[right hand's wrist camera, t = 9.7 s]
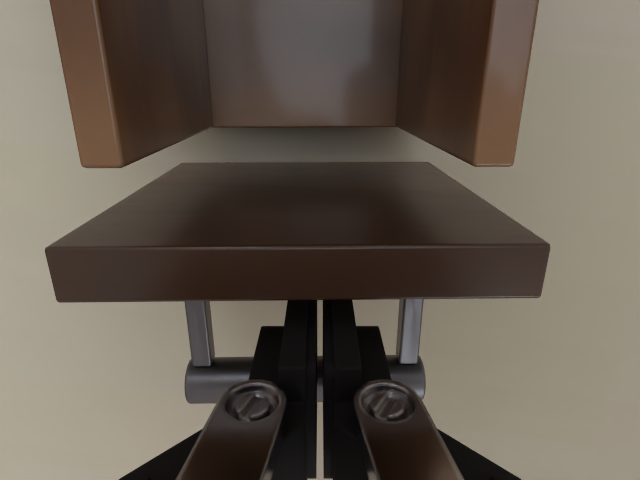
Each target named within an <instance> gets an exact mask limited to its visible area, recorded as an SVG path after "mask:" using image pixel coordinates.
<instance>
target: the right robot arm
mask: <svg viewBox="0 0 640 480" xmlns="http://www.w3.org/2000/svg"><path fill="white" fill-rule="evenodd" d="M316 449H317V300H288V303H287V310H286V317H285V323H284V326H262V327H261V330H260V334H259V338H258V342H257V346H256V351H255V355H254V359H253V363H252V367H251V371H250V375H249V380H247V381H243V382H240V383H237V384H235V385H233V386H231V387H230V388H229V389H227V390H226V391H225V392H224V393H223V394H222V395H221V397H220V398H219V400H218V402H217V404H216V405H215V407H214V409H213V411H212V413H211V415H210V417H209V418H208V420H207V422H206V424H205V426H204V428H203V429H202V430H200V431H198V432H197V433H195V434H193V435H192V436H190V437H188V438H187V439H185V440H183V441H182V442H180V443H178V444H177V445H175V446H173V447H172V448H170V449H168V450H167V451H165V452H163V453H162V454H160V455H158V456H157V457H155V458H153V459H152V460H150V461H149V462H147V463H145V464H144V465H142V466H140V467H139V468H137V469H135V470H134V471H132V472H130V473H129V474H127V475H125V476H124V477H122V478H120V479H119V480H307V478H316ZM323 449H324V478H333V480H521V479H520V478H518V477H516V476H515V475H513V474H511V473H510V472H508V471H506V470H505V469H503V468H501V467H500V466H498V465H496V464H495V463H493V462H491V461H490V460H488V459H487V458H485V457H483V456H482V455H480V454H478V453H477V452H475V451H473V450H472V449H470V448H468V447H467V446H465V445H463V444H462V443H460V442H458V441H457V440H455V439H453V438H452V437H450V436H448V435H447V434H445V433H443V432H442V431H440V430H438V429H437V428H436V426H435V424H434V422H433V420H432V418H431V417H430V415H429V413H428V411H427V409H426V407H425V405H424V404H423V402H422V400H421V398H420V397H419V395H418V394H417V393H416V392H415V391H414V390H413V389H411V388H410V387H409V386H407V385H405V384H403V383H400V382H397V381H393V380H391V375H390V371H389V367H388V363H387V359H386V355H385V351H384V346H383V342H382V338H381V334H380V330H379V327H378V326H356V323H355V317H354V310H353V303H352V300H323Z"/></svg>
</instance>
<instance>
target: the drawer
mask: <svg viewBox="0 0 640 480" xmlns="http://www.w3.org/2000/svg"><path fill="white" fill-rule="evenodd" d="M538 3H539V0H50V5H51V10H52V15H53V20H54V25H55V31H56V36H57V41H58V46H59V52H60V57H61V62H62V67H63V72H64V78H65V83H66V88H67V93H68V98H69V104H70V109H71V114H72V119H73V124H74V130H75V135H76V140H77V145H78V150H79V156H80V161H81V165H82V167H85V168H122V167H124V166H127V165H129V164H131V163H133V162H135V161H138V160H140V159H142V158H144V157H147V156H149V155H151V154H153V153H155V152H158V151H160V150H162V149H164V148H167V147H169V146H171V145H173V144H175V143H178V142H180V141H182V140H184V139H187V138H189V137H191V136H193V135H196V134H198V133H200V132H202V131H204V130H207V129H209V128H211V127H398V128H400V129H402V130H404V131H406V132H408V133H410V134H412V135H414V136H416V137H418V138H420V139H422V140H424V141H426V142H428V143H430V144H432V145H434V146H435V147H437V148H439V149H441V150H443V151H445V152H447V153H449V154H451V155H453V156H455V157H457V158H459V159H461V160H463V161H465V162H467V163H469V164H471V165H473V166H475V167H509V166H512V165H513V163H514V158H515V151H516V145H517V138H518V132H519V125H520V119H521V112H522V106H523V100H524V93H525V87H526V80H527V74H528V67H529V61H530V54H531V48H532V42H533V35H534V29H535V22H536V16H537V9H538ZM549 252H550V244H549V243H547V242H546V241H544V240H543V239H541V238H540V237H538V236H537V235H535V234H534V233H533V232H531V231H530V230H528V229H527V228H525V227H524V226H522V225H521V224H519V223H518V222H516V221H515V220H513V219H512V218H510V217H509V216H507V215H506V214H504V213H503V212H501V211H500V210H498V209H497V208H496V207H494V206H493V205H491V204H490V203H488V202H487V201H485V200H484V199H482V198H481V197H479V196H478V195H476V194H475V193H473V192H472V191H470V190H469V189H467V188H466V187H464V186H463V185H461V184H460V183H459V182H457V181H456V180H454V179H453V178H451V177H450V176H448V175H447V174H445V173H444V172H442V171H441V170H439V169H438V168H436V167H435V166H433V165H432V164H430V163H429V162H322V163H181V164H179V165H178V166H176V167H175V168H173V169H171V170H170V171H168V172H167V173H165V174H163V175H162V176H160V177H159V178H157V179H155V180H154V181H152V182H151V183H149V184H147V185H146V186H144V187H143V188H141V189H139V190H138V191H136V192H134V193H133V194H131V195H130V196H128V197H126V198H125V199H123V200H122V201H120V202H118V203H117V204H115V205H114V206H112V207H110V208H109V209H107V210H106V211H104V212H102V213H101V214H99V215H98V216H96V217H94V218H93V219H91V220H90V221H88V222H86V223H85V224H83V225H81V226H80V227H78V228H77V229H75V230H73V231H72V232H70V233H69V234H67V235H65V236H64V237H62V238H61V239H59V240H57V241H56V242H54V243H53V244H51V245H49V246H48V247H46V249H45V253H46V258H47V262H48V266H49V270H50V274H51V279H52V283H53V287H54V291H55V296H56V300H57V301H58V302H154V301H185V308H186V316H187V324H188V333H189V341H190V349H191V357H192V359H191V360H190V361H189V364H188V366H187V370H186V375H185V396H186V400H187V402H188V403H190V404H197V403H217V402H218V400H219V398H220V397H221V395H222V394H223V393H224V392H225V391H226V390H227V389H229V388H230V387H231V386H233V385H235V384H237V383H240V382H243V381H247V380H249V375H250V371H251V367H252V363H253V359H254V357H214V356H215V351H214V341H213V331H212V321H211V311H210V301H256V300H359V299H400V303H399V317H398V331H397V345H396V355H386V359H387V363H388V367H389V371H390V375H391V380H393V381H397V382H400V383H403V384H405V385H407V386H409V387H410V388H411V389H413V390H414V391H415V392H416V393H417V394H418V395H419V397H420V398H421V400H422V399H423V398H424V394H425V371H424V366H423V363H422V360H421V358H420V356H418V354H419V343H420V332H421V321H422V311H423V300H424V299H462V298H538V297H540V296H541V292H542V287H543V282H544V277H545V272H546V267H547V262H548V257H549ZM317 402H323V356H317Z"/></svg>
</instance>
